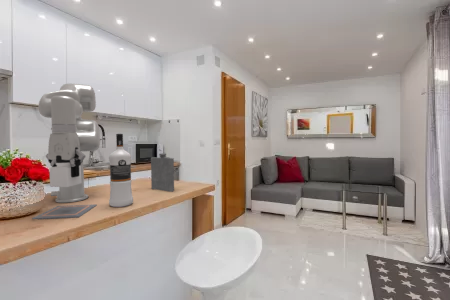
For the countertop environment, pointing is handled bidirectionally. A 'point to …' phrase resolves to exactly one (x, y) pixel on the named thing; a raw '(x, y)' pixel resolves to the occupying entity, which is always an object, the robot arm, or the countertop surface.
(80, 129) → the robot arm
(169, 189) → the hip flask
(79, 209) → the card
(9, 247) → the countertop surface
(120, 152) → the vodka
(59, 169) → the medicine bottle
